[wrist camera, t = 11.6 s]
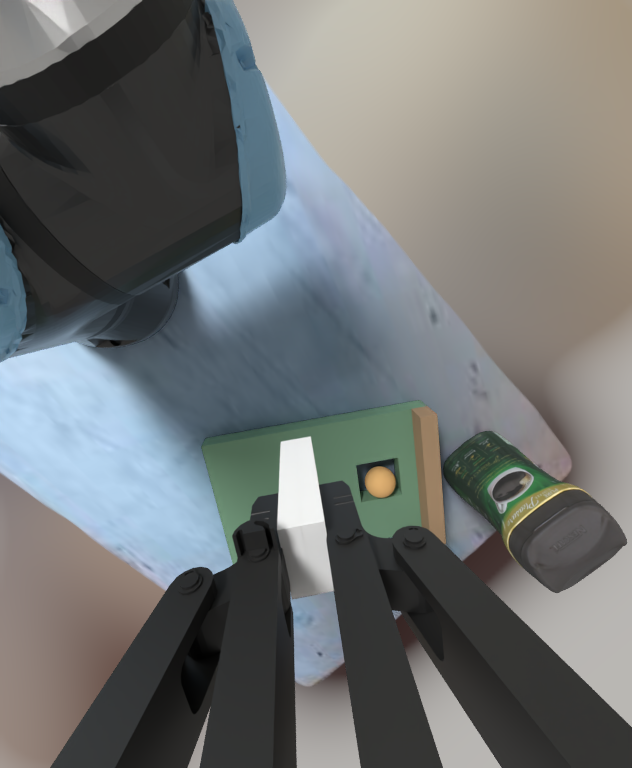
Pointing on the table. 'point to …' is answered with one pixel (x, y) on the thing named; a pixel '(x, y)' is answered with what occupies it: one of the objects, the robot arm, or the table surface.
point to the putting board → (338, 466)
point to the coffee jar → (534, 511)
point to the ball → (380, 481)
